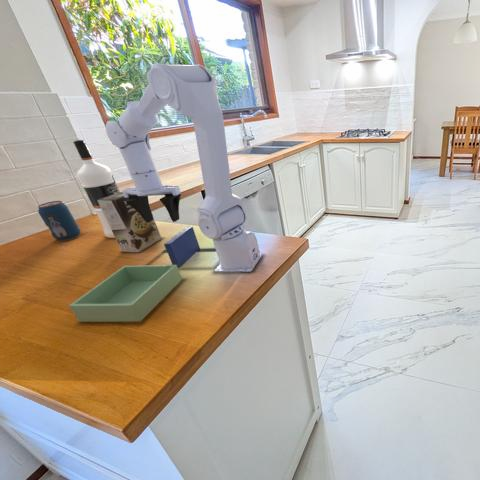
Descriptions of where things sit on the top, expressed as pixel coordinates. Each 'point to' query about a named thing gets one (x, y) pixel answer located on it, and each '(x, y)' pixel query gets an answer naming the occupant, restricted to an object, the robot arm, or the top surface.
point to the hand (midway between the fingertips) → (163, 220)
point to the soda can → (59, 220)
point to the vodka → (96, 183)
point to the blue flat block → (182, 246)
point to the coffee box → (128, 224)
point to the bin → (127, 294)
